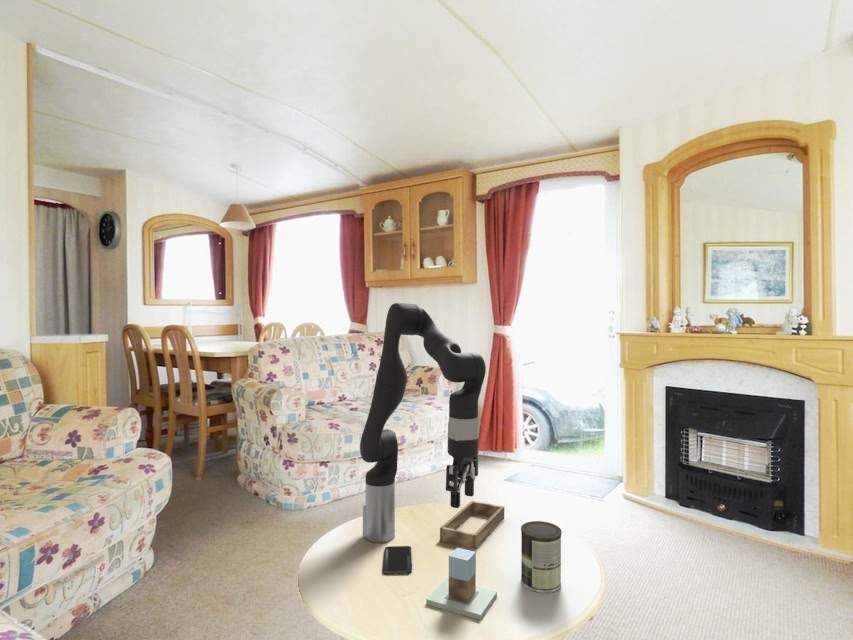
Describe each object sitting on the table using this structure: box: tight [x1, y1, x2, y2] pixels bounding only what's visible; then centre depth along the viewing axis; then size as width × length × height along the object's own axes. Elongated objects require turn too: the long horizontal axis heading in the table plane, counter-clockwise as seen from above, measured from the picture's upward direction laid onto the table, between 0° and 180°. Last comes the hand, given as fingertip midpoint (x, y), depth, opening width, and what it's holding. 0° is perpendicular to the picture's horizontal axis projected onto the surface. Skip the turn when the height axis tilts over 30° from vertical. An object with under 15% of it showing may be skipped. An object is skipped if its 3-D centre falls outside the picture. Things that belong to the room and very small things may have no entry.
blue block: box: [448, 547, 477, 582], centre depth 123 cm, size 5×5×5 cm
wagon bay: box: [439, 500, 505, 550], centre depth 165 cm, size 12×26×4 cm, turn 153°
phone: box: [382, 545, 413, 576], centre depth 143 cm, size 8×1×15 cm
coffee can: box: [520, 520, 563, 594], centre depth 132 cm, size 10×10×14 cm
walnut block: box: [448, 572, 477, 603], centre depth 123 cm, size 5×5×5 cm
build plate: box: [425, 577, 498, 621], centre depth 123 cm, size 14×11×1 cm
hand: (462, 501), depth 123 cm, fingers open, 8 cm apart
